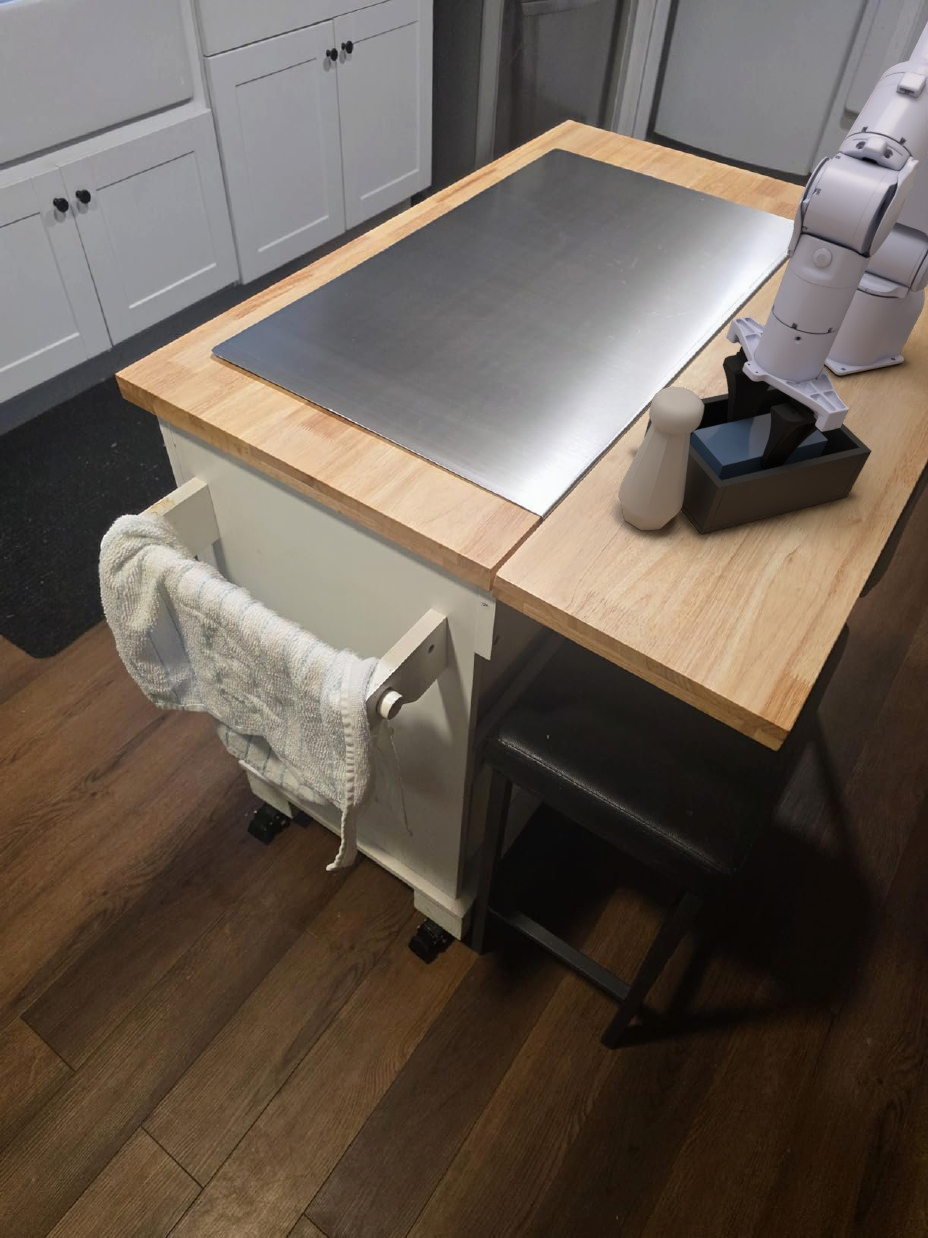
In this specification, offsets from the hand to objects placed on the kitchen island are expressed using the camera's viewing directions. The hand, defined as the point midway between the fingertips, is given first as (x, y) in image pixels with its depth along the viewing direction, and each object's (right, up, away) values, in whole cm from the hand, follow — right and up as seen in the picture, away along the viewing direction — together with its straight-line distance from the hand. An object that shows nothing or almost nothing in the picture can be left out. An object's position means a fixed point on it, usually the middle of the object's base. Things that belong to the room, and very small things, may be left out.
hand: (753, 446), depth 82 cm
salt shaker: (-11, -7, -2) cm, 13 cm away
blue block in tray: (0, -1, +1) cm, 2 cm away
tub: (0, -2, +3) cm, 4 cm away
